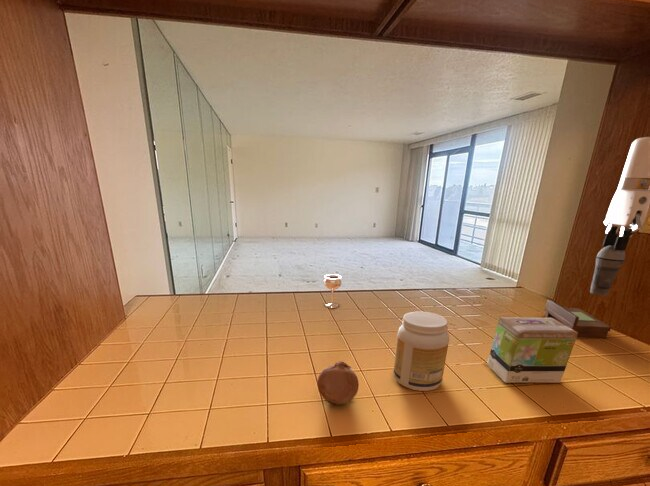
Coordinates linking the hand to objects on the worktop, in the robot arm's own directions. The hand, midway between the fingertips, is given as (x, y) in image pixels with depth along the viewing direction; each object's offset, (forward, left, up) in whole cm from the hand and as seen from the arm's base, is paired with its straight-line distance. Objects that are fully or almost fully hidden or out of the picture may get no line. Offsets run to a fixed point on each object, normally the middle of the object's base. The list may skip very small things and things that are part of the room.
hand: (613, 247), depth 107 cm
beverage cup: (0, 0, -15) cm, 15 cm away
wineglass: (+88, -15, -29) cm, 94 cm away
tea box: (+34, +31, -29) cm, 54 cm away
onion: (+83, +48, -29) cm, 100 cm away
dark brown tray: (+1, -5, -29) cm, 30 cm away
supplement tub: (+63, +37, -29) cm, 78 cm away
